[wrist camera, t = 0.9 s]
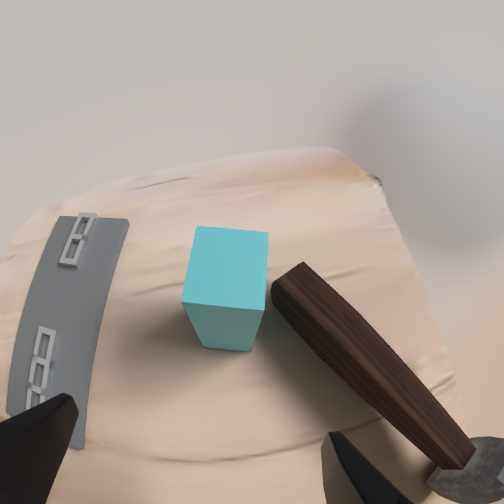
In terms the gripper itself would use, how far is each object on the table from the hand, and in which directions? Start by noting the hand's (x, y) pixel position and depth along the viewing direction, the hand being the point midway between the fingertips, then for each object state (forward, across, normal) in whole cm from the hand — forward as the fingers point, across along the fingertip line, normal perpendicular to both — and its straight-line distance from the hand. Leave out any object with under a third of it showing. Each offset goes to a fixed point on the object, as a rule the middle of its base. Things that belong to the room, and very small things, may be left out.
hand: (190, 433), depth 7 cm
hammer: (+11, -14, +10) cm, 21 cm away
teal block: (+16, 0, +4) cm, 16 cm away
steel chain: (+13, +17, +5) cm, 22 cm away
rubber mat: (+14, +17, +6) cm, 23 cm away
